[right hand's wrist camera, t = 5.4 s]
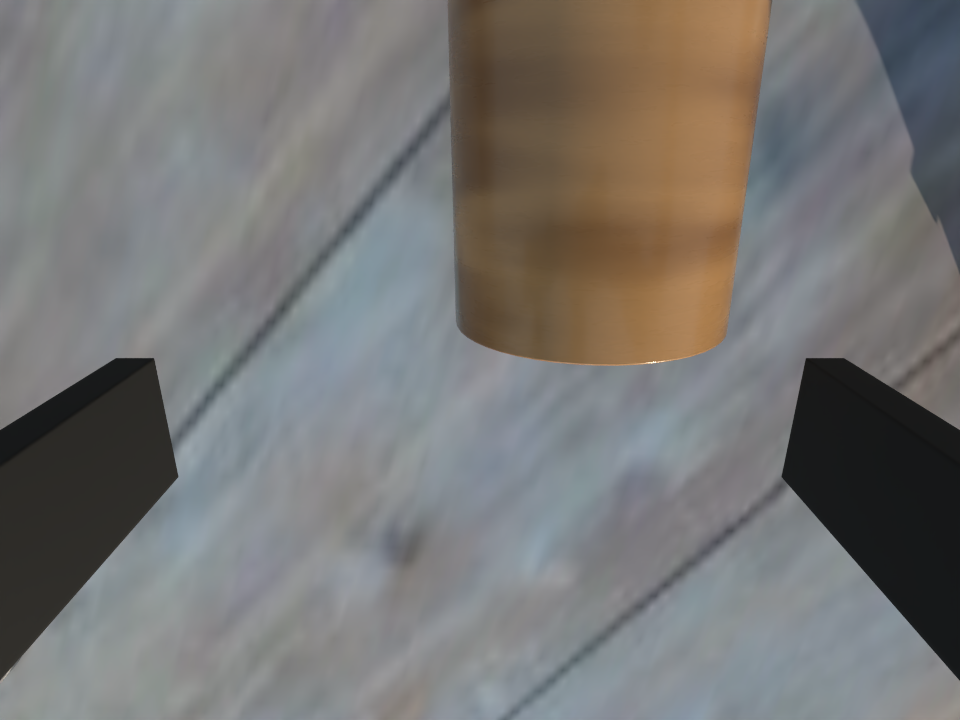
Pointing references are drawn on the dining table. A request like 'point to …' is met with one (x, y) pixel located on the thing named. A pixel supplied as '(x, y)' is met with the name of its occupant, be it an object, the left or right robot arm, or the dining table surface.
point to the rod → (601, 172)
